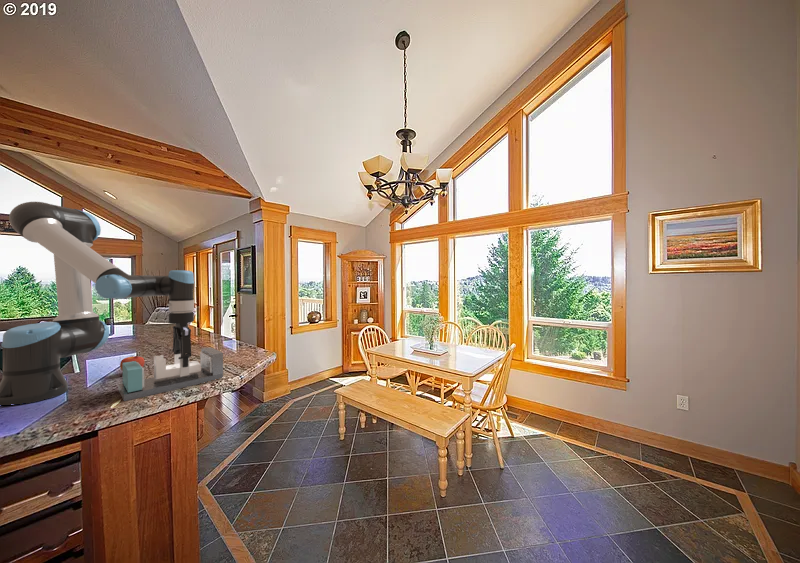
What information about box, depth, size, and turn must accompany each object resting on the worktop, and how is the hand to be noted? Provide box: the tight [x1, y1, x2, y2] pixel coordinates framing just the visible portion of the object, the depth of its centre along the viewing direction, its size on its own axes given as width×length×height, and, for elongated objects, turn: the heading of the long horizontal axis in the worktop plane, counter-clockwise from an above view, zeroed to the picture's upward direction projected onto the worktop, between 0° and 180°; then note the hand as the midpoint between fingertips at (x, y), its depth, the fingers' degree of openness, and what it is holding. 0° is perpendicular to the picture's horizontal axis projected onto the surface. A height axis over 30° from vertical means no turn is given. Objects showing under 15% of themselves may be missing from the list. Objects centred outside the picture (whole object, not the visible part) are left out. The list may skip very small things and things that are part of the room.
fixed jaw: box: [199, 346, 224, 376], centre depth 116 cm, size 14×4×8 cm, turn 49°
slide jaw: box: [122, 361, 145, 393], centre depth 99 cm, size 13×4×7 cm, turn 49°
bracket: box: [153, 354, 201, 379], centre depth 108 cm, size 13×7×8 cm, turn 135°
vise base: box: [117, 368, 224, 402], centre depth 107 cm, size 14×28×2 cm, turn 139°
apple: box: [119, 353, 145, 372], centre depth 119 cm, size 7×7×8 cm
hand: (181, 373), depth 109 cm, fingers closed on bracket, 7 cm apart
